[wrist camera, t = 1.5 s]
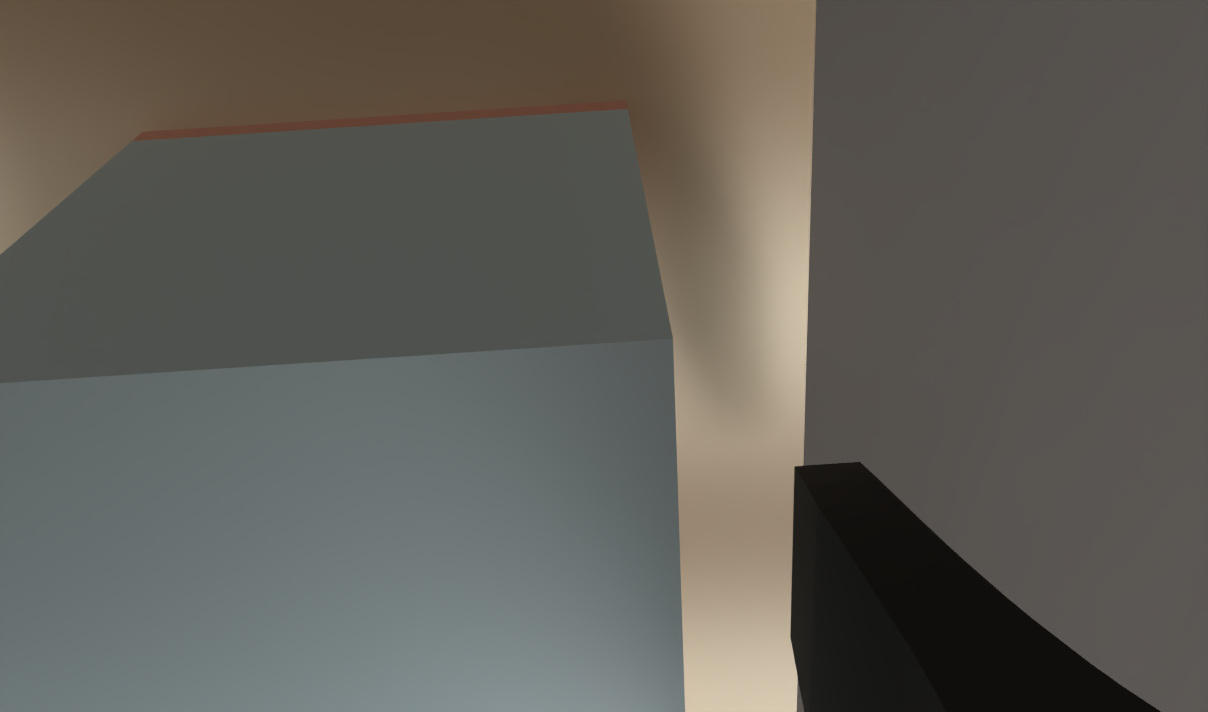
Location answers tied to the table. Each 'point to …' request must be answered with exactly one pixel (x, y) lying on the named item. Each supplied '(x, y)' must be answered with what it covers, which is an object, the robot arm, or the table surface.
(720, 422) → the birch board
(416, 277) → the block
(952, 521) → the table surface
